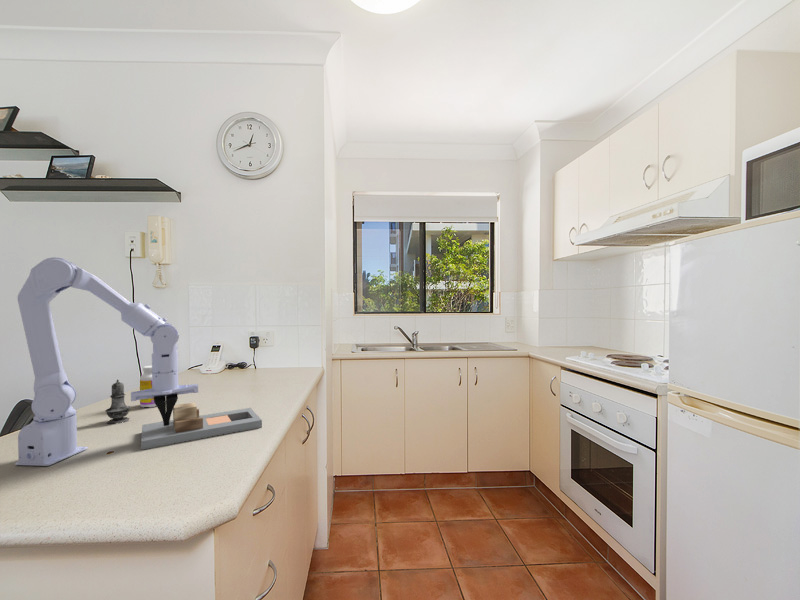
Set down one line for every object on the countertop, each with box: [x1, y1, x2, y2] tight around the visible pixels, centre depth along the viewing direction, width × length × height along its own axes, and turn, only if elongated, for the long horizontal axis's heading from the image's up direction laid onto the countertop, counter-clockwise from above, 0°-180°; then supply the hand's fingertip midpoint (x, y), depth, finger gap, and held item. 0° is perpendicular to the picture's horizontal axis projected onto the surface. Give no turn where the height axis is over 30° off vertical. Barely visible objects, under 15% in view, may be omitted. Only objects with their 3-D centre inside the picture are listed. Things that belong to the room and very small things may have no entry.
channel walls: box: [175, 408, 203, 433], centre depth 101 cm, size 6×10×2 cm, turn 33°
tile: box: [206, 415, 231, 425], centre depth 105 cm, size 6×7×2 cm
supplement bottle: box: [139, 364, 157, 408], centre depth 128 cm, size 7×7×13 cm
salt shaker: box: [105, 379, 131, 425], centre depth 112 cm, size 6×6×12 cm
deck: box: [140, 407, 263, 451], centre depth 103 cm, size 27×14×2 cm, turn 123°
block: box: [172, 401, 198, 430], centre depth 101 cm, size 5×5×5 cm
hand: (166, 424), depth 99 cm, fingers closed
